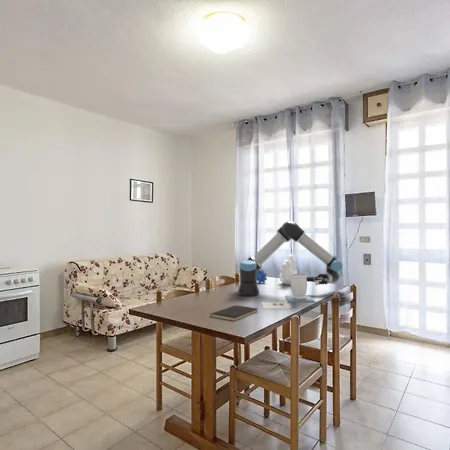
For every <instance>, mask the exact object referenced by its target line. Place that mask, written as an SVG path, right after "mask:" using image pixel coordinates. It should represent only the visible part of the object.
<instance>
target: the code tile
mask: <svg viewBox="0 0 450 450" xmlns="http://www.w3.org/2000/svg"><path fill="white" fill-rule="evenodd" d="M261 303H262V309H263V310H291V309H292V308H291V306H290V304H289V302H288V301H287V302H285V301H283V302H282V301H281V302H278V301H277V302H272V301H271V302H269V301H268V302H264V301H262V302H261Z"/></svg>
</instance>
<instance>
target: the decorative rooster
mask: <svg viewBox="0 0 450 450" xmlns="http://www.w3.org/2000/svg"><path fill="white" fill-rule="evenodd" d="M293 274H298V270H297V259H296V258H295V255H294V254H292V253H290V254H289V255H288V256H287V259H283V263H282V264H281V271H280V273H279V275H278V276H279V281H280V282H281V284H284V285H288V286H291V278H292V277H291V275H293Z"/></svg>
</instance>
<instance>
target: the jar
mask: <svg viewBox="0 0 450 450" xmlns="http://www.w3.org/2000/svg"><path fill="white" fill-rule="evenodd" d="M291 277H292V278H291V285H290V289H291V294H292V295H293V298H295V299H305V298H306V297H305V295H307V290H308V281H307V279H306V277H308V275H307V274H301V273H297V274H293V275H291Z"/></svg>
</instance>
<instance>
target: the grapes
mask: <svg viewBox="0 0 450 450" xmlns="http://www.w3.org/2000/svg"><path fill="white" fill-rule="evenodd" d="M267 280H268V277H267V273H265V271H264V270H263V269H261V268H260V269H259V270H258V271H257V272H256V282H258V283H259V284H261V283H263V284H264V283H265V282H266V281H267Z"/></svg>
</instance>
